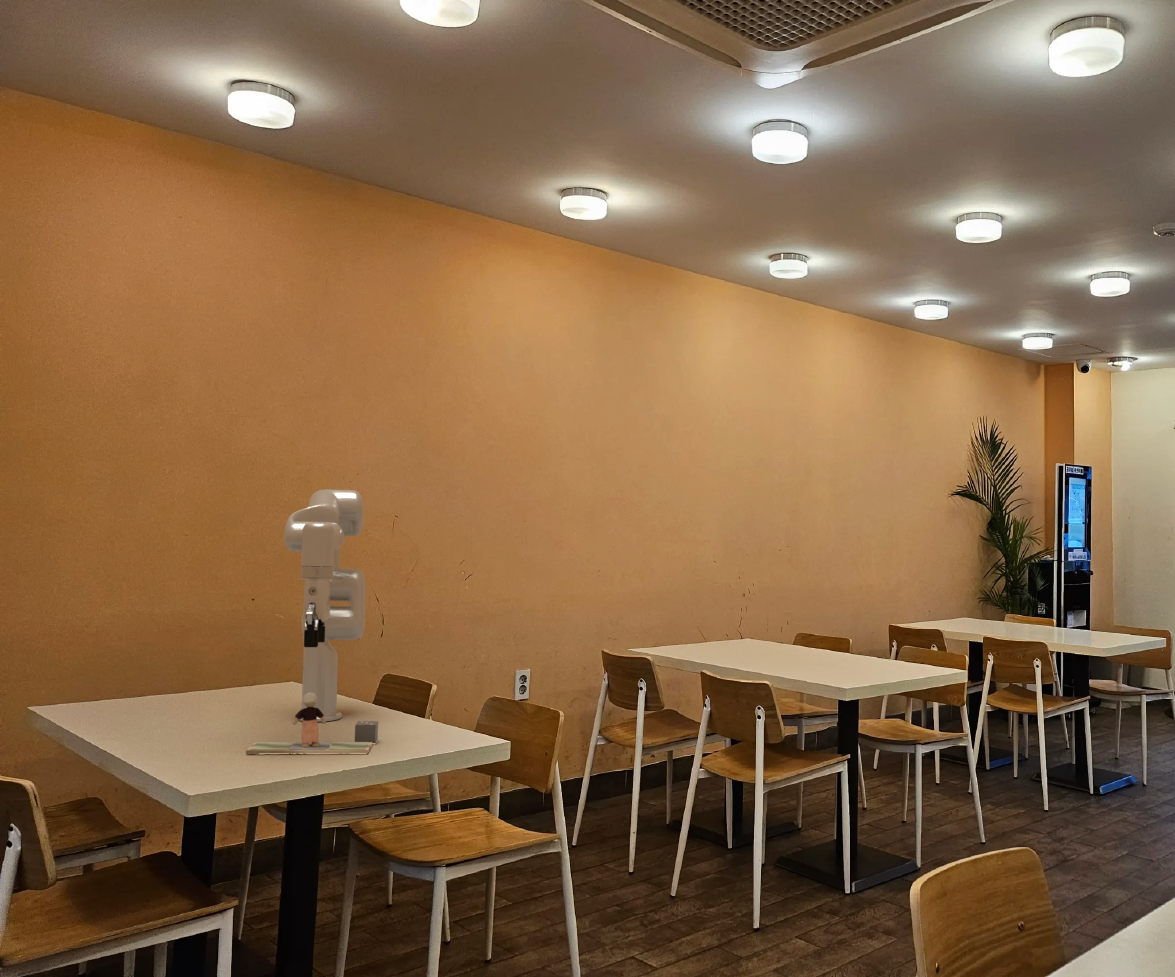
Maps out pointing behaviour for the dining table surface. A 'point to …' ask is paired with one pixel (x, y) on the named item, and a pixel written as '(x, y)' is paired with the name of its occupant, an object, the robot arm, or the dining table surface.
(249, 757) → the dining table surface
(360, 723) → the die
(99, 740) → the dining table surface
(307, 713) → the grandmother figurine
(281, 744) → the board
